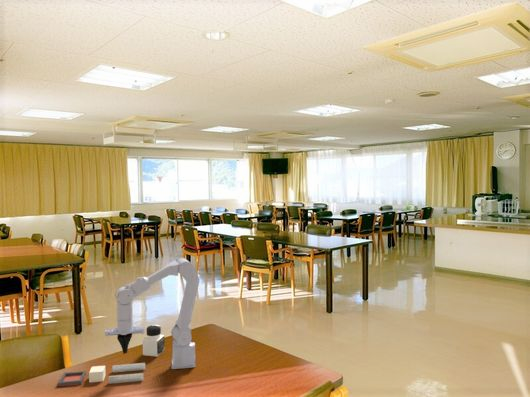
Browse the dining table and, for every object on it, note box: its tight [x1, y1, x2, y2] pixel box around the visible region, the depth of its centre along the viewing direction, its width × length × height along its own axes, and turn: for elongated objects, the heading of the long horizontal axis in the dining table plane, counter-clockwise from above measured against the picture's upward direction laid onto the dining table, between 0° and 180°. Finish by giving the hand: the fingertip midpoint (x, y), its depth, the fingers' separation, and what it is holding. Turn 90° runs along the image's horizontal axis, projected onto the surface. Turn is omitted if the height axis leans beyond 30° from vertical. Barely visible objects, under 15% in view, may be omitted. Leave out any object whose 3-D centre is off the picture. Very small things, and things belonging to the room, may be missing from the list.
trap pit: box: [57, 370, 87, 387], centre depth 157 cm, size 8×8×1 cm
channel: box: [108, 362, 146, 385], centre depth 161 cm, size 12×10×2 cm
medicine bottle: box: [142, 324, 166, 358], centre depth 182 cm, size 7×7×12 cm
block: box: [88, 365, 107, 383], centre depth 158 cm, size 5×5×4 cm
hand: (125, 352), depth 160 cm, fingers closed
